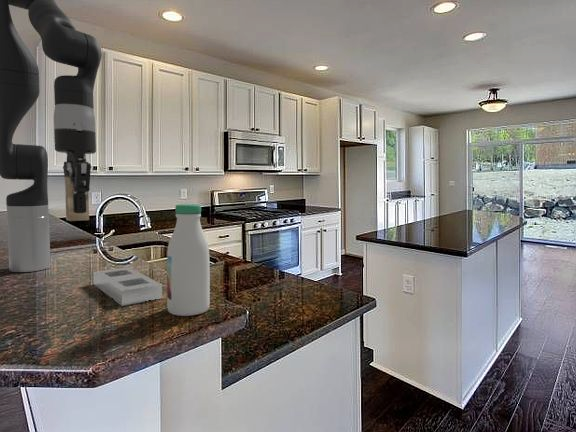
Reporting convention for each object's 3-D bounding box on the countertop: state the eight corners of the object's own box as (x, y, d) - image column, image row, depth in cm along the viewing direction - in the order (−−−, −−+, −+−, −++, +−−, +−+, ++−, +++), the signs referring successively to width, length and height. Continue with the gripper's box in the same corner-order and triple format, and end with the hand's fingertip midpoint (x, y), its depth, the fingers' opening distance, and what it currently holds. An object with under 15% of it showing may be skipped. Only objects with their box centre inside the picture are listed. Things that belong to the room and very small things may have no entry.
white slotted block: (93, 284, 88) (93, 271, 87) (129, 279, 93) (128, 267, 93) (121, 306, 73) (121, 290, 72) (162, 298, 78) (161, 284, 78)
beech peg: (66, 219, 80) (64, 177, 79) (85, 218, 82) (83, 177, 81) (69, 221, 77) (68, 176, 76) (89, 220, 79) (88, 177, 79)
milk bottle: (217, 306, 74) (217, 204, 72) (194, 319, 66) (194, 206, 65) (183, 301, 76) (182, 203, 74) (158, 313, 69) (157, 204, 67)
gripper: (48, 131, 81) (51, 211, 82) (61, 123, 70) (64, 215, 72) (86, 134, 86) (88, 210, 87) (104, 127, 75) (106, 213, 76)
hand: (77, 211), depth 79 cm, fingers closed on beech peg, 3 cm apart
